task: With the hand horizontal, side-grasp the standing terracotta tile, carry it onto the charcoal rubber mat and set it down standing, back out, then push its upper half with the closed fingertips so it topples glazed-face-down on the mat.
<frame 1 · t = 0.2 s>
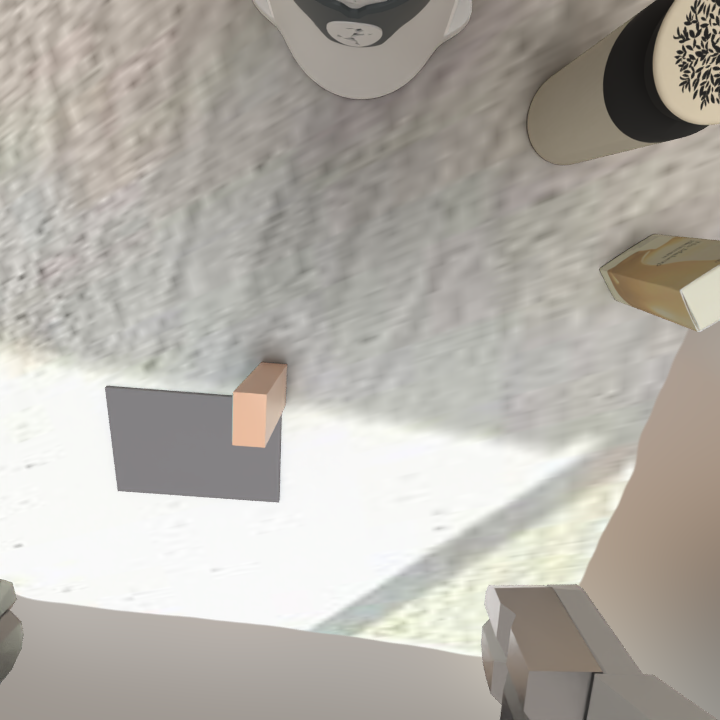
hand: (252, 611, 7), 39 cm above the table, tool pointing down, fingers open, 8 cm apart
mat: (197, 446, 50), on the table
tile: (273, 384, 48), on the table, tilted 6°
travel mug: (567, 119, 39), on the table
skincare box: (631, 268, 44), on the table
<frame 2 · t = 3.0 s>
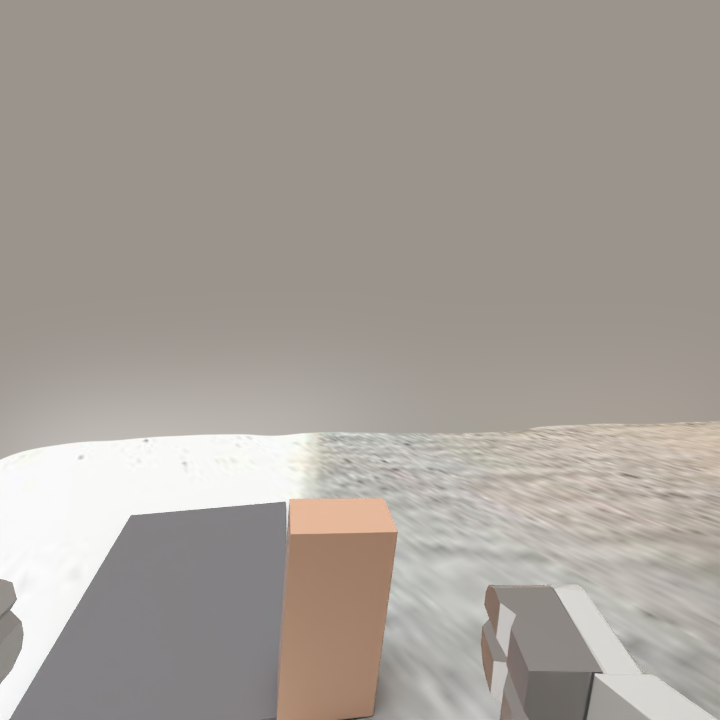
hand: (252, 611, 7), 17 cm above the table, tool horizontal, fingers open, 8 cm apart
mat: (188, 592, 30), on the table
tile: (323, 692, 23), on the table, tilted 5°, touching mat
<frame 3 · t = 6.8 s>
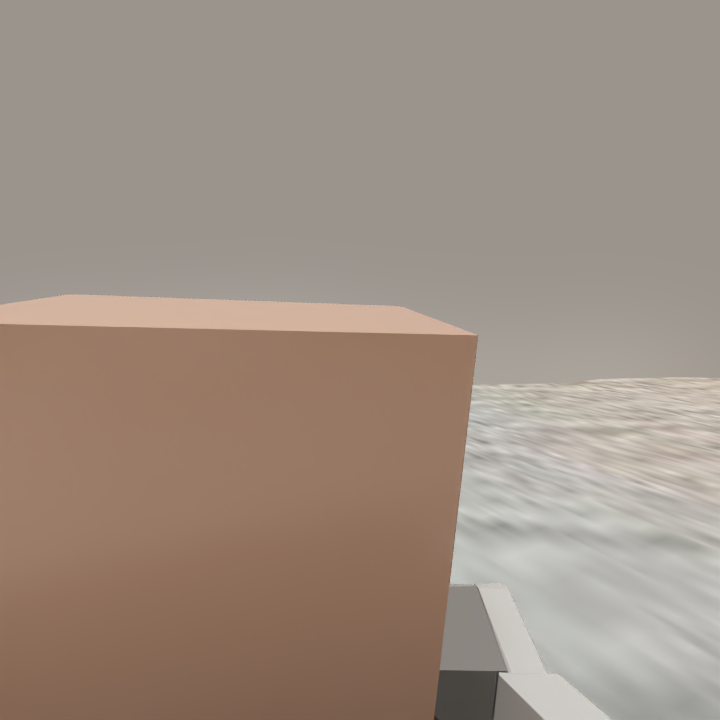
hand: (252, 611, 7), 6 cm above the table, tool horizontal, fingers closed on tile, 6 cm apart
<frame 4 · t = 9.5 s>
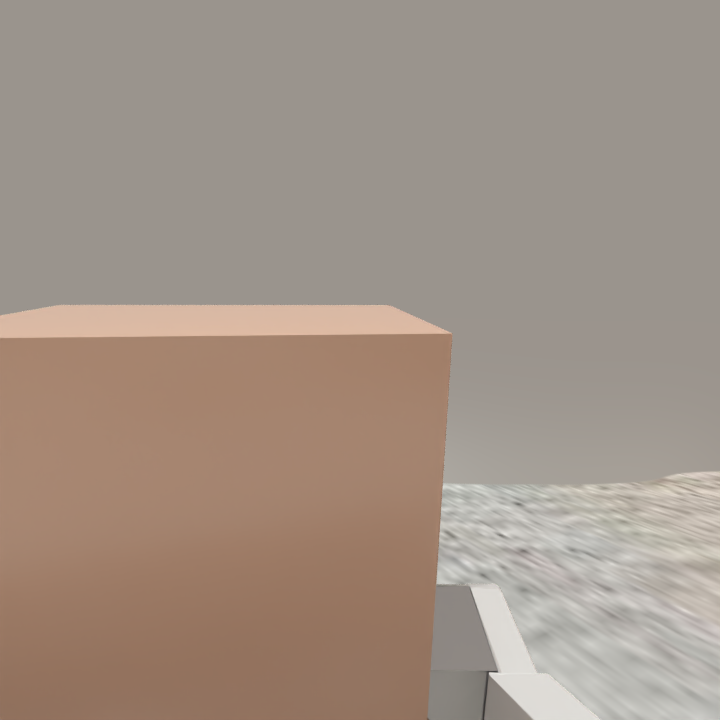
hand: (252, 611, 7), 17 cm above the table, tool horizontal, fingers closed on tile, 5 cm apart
when the fingers open (7 cm above the table, at t = 11.7 s): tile stays where it is, resting on mat.
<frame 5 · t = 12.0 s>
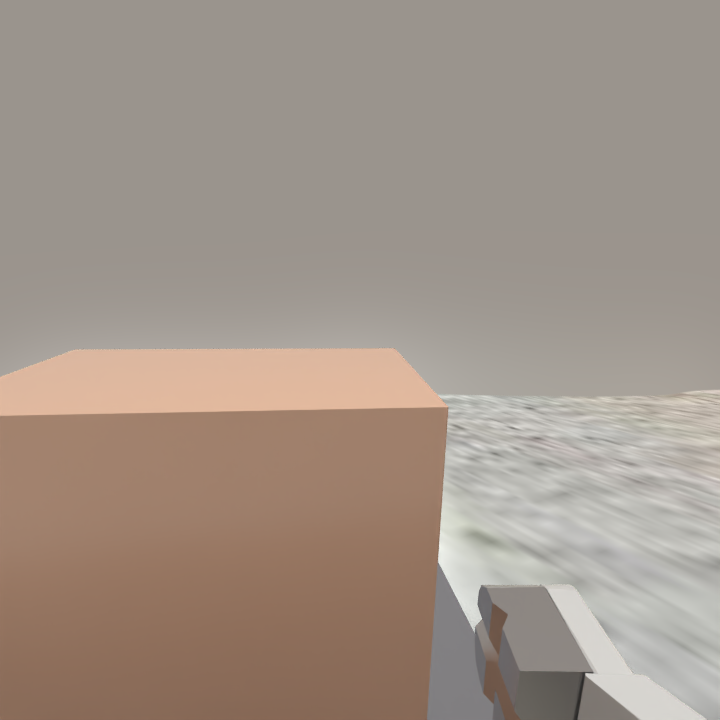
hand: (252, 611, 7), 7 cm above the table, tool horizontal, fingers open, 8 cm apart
mat: (267, 661, 14), on the table
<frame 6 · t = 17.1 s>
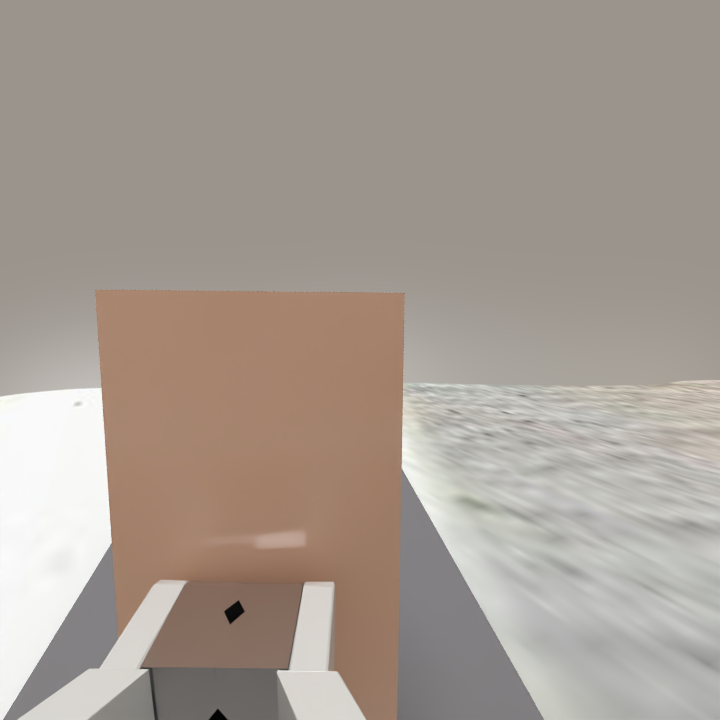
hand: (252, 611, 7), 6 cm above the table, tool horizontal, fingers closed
mat: (279, 597, 16), on the table
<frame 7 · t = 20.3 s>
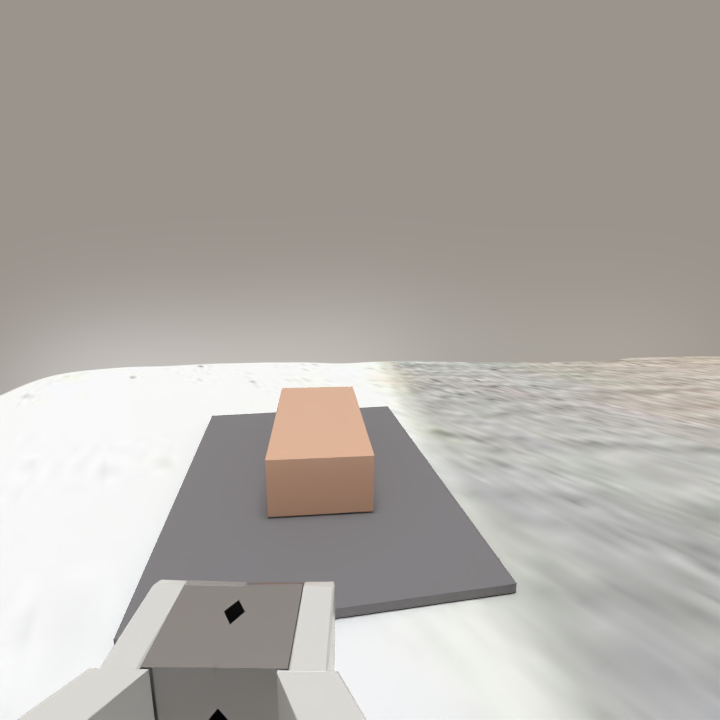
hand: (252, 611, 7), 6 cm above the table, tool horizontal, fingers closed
mat: (312, 477, 24), on the table
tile: (320, 487, 20), point 2 cm above the table, tilted 90°, touching mat
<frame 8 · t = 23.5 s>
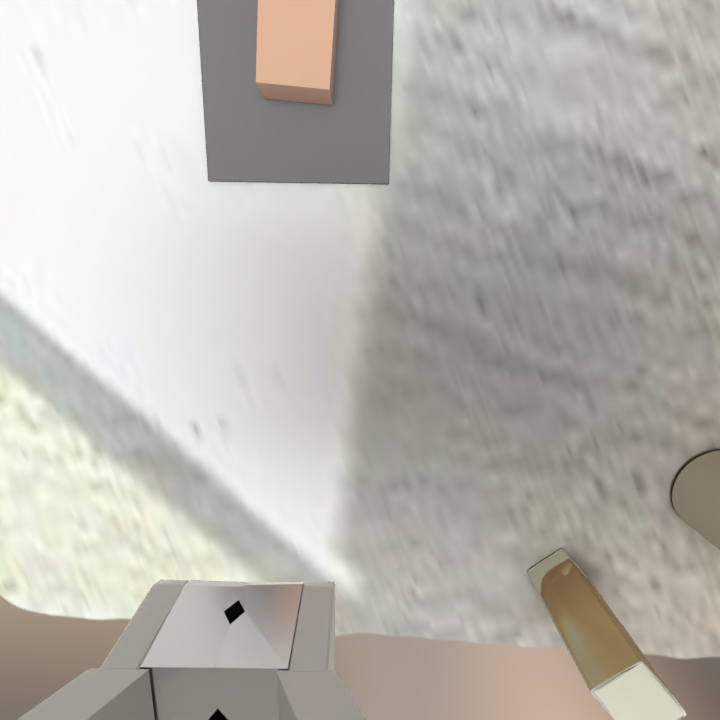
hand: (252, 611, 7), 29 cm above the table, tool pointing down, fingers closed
mat: (296, 36, 31), on the table
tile: (295, 94, 30), point 2 cm above the table, tilted 90°, touching mat
travel mug: (710, 486, 39), on the table
skincare box: (559, 576, 41), on the table
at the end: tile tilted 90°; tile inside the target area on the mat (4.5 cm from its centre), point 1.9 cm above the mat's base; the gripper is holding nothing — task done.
